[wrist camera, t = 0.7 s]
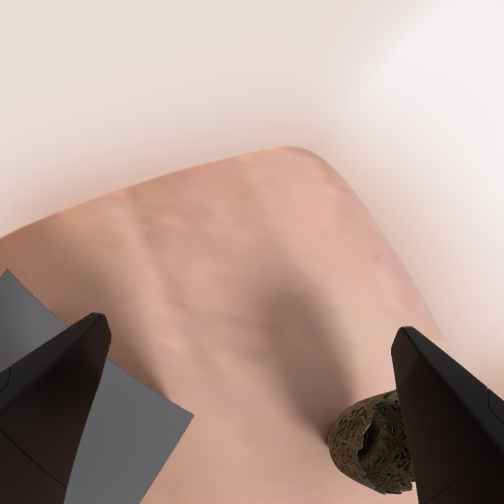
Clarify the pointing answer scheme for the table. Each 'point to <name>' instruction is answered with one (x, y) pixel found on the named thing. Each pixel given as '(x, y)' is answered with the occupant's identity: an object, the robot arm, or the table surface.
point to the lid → (98, 411)
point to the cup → (373, 444)
